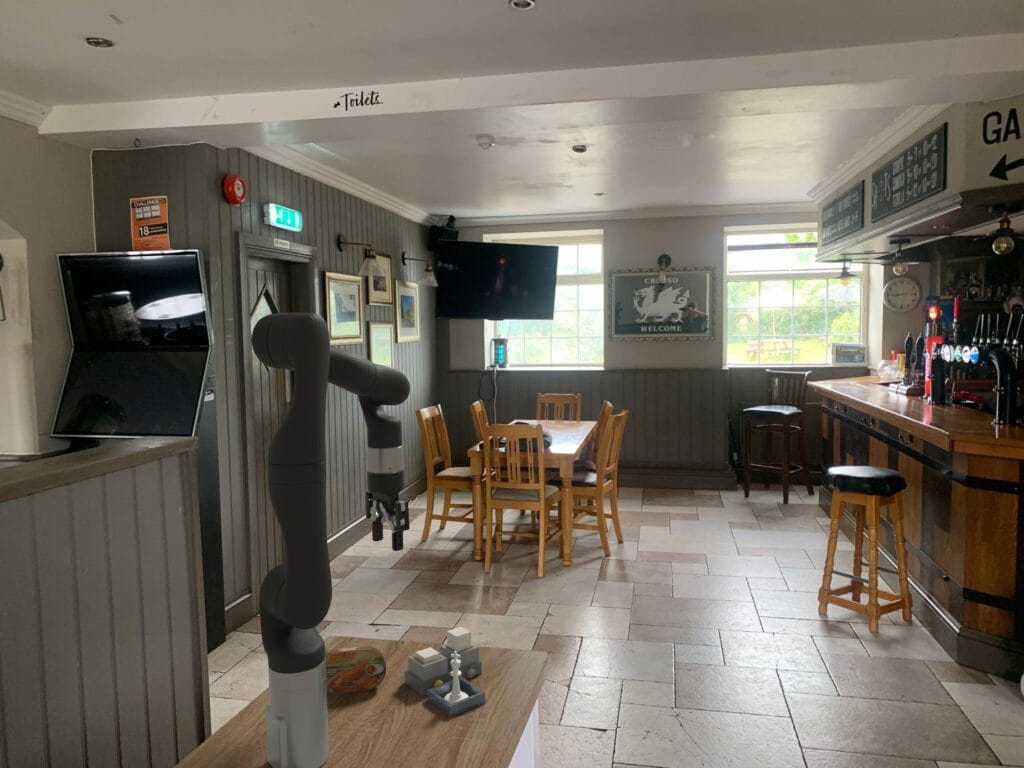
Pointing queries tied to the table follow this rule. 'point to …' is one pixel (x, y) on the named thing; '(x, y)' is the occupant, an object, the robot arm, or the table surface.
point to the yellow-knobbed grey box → (441, 669)
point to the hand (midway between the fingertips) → (387, 545)
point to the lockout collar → (459, 706)
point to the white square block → (427, 655)
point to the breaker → (459, 639)
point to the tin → (354, 669)
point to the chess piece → (455, 681)
